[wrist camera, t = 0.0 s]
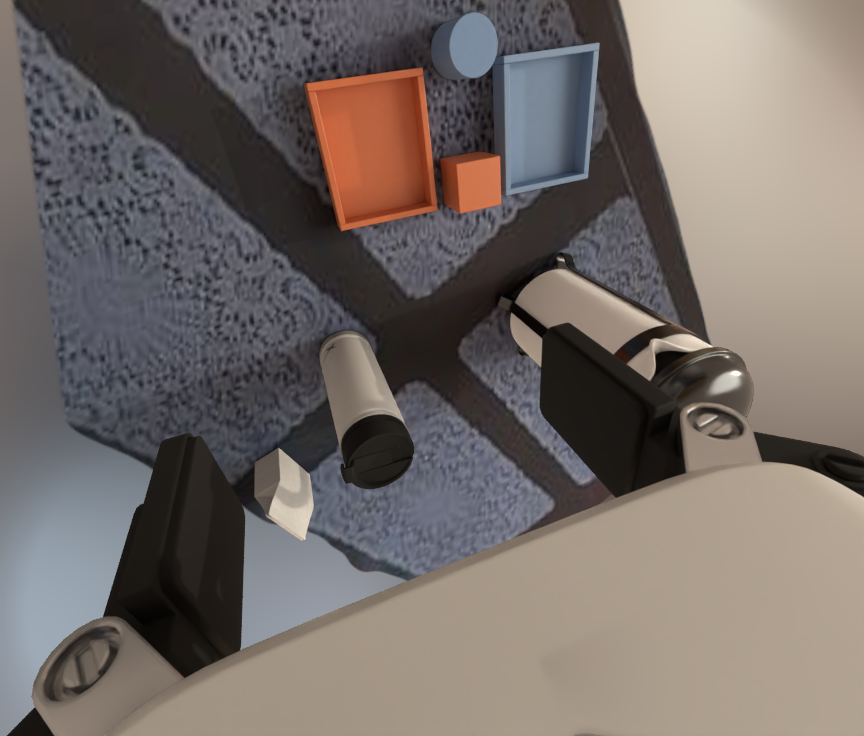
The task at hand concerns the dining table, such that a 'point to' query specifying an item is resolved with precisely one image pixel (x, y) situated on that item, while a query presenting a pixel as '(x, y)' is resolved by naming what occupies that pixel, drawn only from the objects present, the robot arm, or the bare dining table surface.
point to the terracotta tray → (374, 146)
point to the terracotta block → (471, 181)
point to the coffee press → (628, 337)
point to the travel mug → (364, 413)
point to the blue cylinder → (464, 47)
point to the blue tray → (544, 116)
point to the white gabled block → (284, 492)
